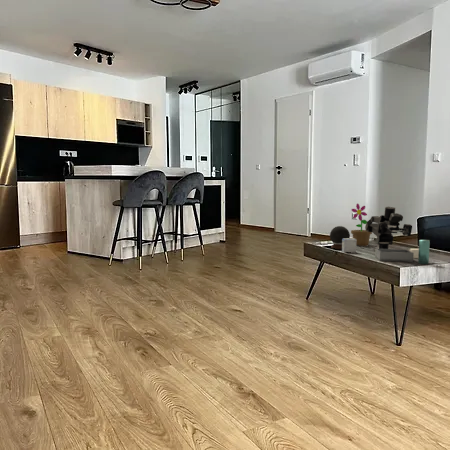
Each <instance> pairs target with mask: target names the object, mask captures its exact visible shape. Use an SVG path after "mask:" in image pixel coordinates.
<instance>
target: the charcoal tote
mask: <svg viewBox="0 0 450 450" xmlns="http://www.w3.org/2000/svg"><path fill="white" fill-rule="evenodd" d="M374 253H375V255H374V257H375V258H376V259H377V260H378V261H379V262H405V263H408V262H409V263H414V258H413V254H414V253H413V252H411V251H410V249H401V248H397V249H396V248H389V249H379V248H375V252H374Z"/></svg>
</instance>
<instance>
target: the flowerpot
mask: <svg viewBox="0 0 450 450" xmlns="http://www.w3.org/2000/svg"><path fill="white" fill-rule="evenodd" d="M360 206H361V205H360V204H359V203H356V206H355V207H356V208H351V212H352V213H354V215H352V218H353V219H357V217H358V220H359V221H360V223H358V224H356V225H355V227H358V228H360V229H353V230H350V234H352V238H354V239H356V240H357V241H356V246H357V245H359V246H360V247H363V246H364V247H366V246H367V245H368V246H369V245H370V240H371V239H370V238H371V235H373V233H372V232H367V231H366V229H363V225H366V223H367V221H368V220H366V219H363V216H367V215H368V214H367V212H365V211H364V210H365V209H366V205H363V206H361V207H360ZM359 246H358V247H359Z"/></svg>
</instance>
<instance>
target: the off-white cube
mask: <svg viewBox="0 0 450 450" xmlns="http://www.w3.org/2000/svg"><path fill="white" fill-rule="evenodd" d="M409 251H411V252H413V253H414V254H413V259H418V253H419V248H409Z"/></svg>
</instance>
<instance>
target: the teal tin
mask: <svg viewBox="0 0 450 450" xmlns="http://www.w3.org/2000/svg"><path fill="white" fill-rule="evenodd" d="M430 241H431V240H430V239H419V240H418V249H419V253H418V258H417V263H418V264H419V265H429V264H428V263H430V245H431V243H430Z"/></svg>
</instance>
